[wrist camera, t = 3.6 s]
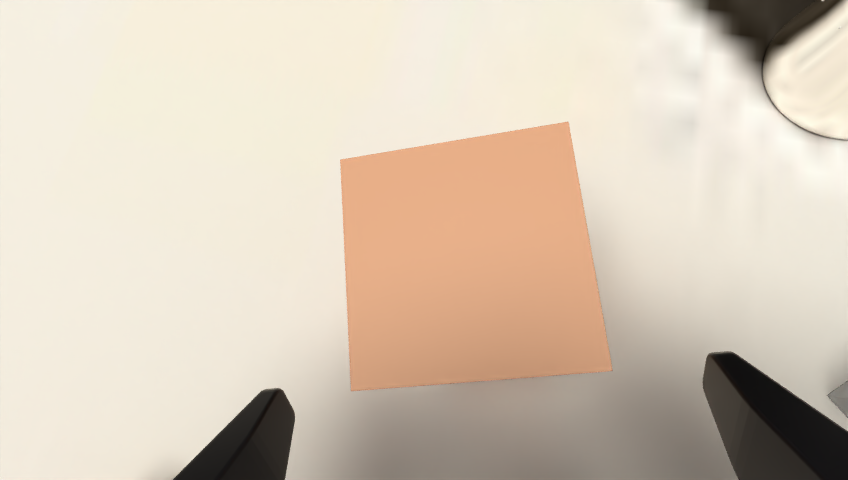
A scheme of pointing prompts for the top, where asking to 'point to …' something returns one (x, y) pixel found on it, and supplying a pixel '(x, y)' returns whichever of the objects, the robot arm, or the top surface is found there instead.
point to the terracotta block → (470, 263)
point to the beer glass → (812, 69)
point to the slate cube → (840, 398)
